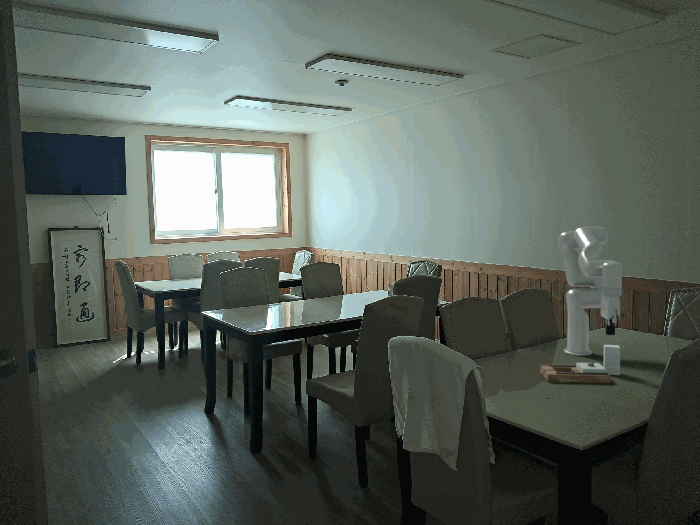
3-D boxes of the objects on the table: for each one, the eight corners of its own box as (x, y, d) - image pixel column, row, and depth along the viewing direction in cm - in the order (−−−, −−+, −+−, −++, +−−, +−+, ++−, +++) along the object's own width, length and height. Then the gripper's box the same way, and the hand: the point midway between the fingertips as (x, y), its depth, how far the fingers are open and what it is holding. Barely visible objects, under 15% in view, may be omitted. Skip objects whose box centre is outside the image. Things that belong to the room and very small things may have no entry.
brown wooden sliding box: (540, 371, 230) (540, 363, 230) (598, 373, 227) (598, 364, 227) (548, 382, 216) (548, 373, 216) (610, 383, 213) (610, 374, 213)
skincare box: (618, 372, 227) (619, 345, 226) (620, 375, 223) (620, 347, 222) (602, 371, 229) (603, 344, 228) (604, 374, 225) (604, 346, 224)
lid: (576, 367, 226) (576, 359, 225) (598, 367, 225) (598, 360, 224) (582, 373, 217) (582, 365, 216) (605, 373, 216) (606, 366, 215)
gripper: (596, 289, 231) (595, 330, 232) (608, 294, 216) (606, 338, 218) (614, 289, 230) (613, 330, 231) (627, 294, 215) (626, 339, 217)
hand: (610, 334), depth 224 cm, fingers closed
